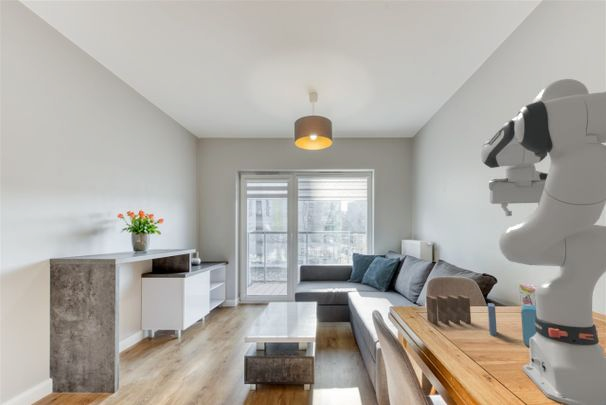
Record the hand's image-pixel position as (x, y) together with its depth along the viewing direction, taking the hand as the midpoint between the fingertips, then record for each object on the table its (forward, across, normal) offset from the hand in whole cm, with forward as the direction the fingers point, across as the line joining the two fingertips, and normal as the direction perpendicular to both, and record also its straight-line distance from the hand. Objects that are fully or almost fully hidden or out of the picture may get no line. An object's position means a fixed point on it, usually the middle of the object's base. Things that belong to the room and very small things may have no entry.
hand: (523, 215), depth 108 cm
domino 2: (+42, -26, +12) cm, 51 cm away
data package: (+43, 0, -9) cm, 44 cm away
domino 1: (+42, -31, +11) cm, 53 cm away
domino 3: (+42, -22, +13) cm, 50 cm away
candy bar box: (+43, +4, +5) cm, 43 cm away
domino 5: (+42, -12, +2) cm, 44 cm away
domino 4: (+42, -18, +15) cm, 48 cm away
